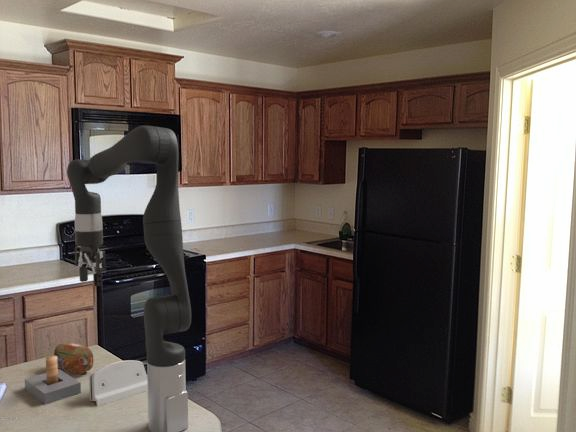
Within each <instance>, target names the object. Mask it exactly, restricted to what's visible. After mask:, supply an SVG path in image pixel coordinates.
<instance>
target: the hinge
mask: <svg viewBox="0 0 576 432" xmlns="http://www.w3.org/2000/svg"><path fill="white" fill-rule="evenodd" d="M88 381H89V382H88V383H89V384H88V385H89V401H90V402H91V401H92V402H95V404H96V406H97V407H100V406H104V405H107V404H109V403H112V402H116V401H118V400H122V399H125V398H128V397H133V396H135V395H138V394H141V393H144V392H148V384H147V371H146V367H145V366H144V363H143V362H142V361H140V360H133V359H131V360H130V359H128V360H121V361H115V362H112V363H108V364H106V365H104V366H101V367H100V368H98V369H96V370H95V371H93V372H92V373H91V374H90V375H89V378H88Z"/></svg>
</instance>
